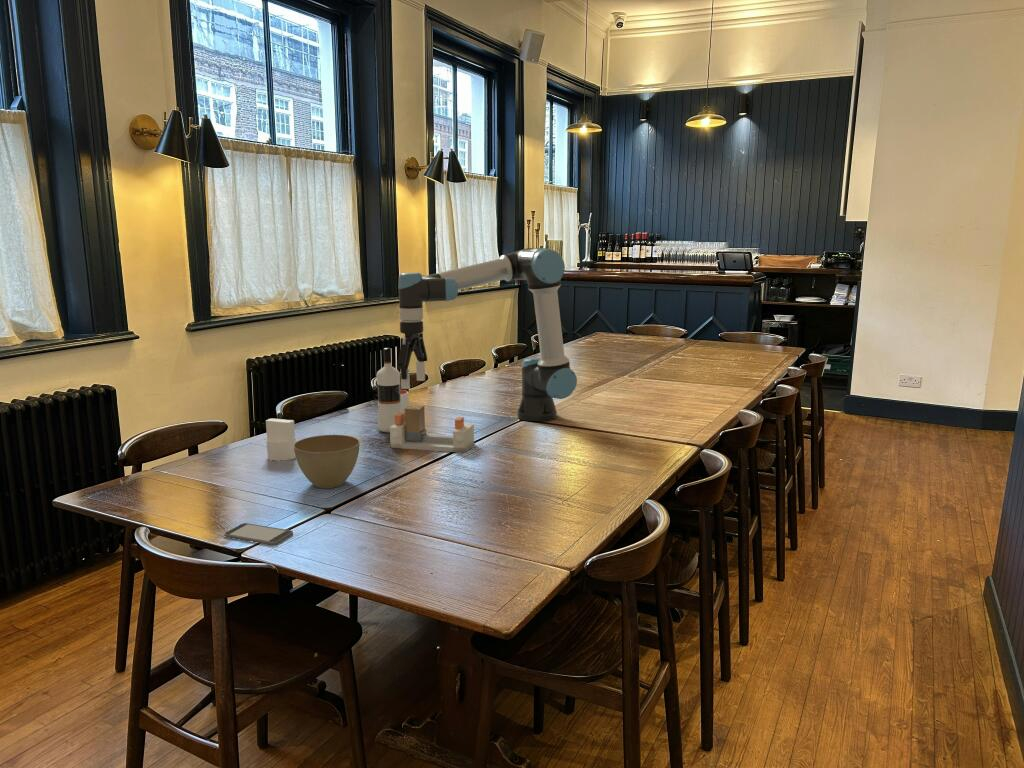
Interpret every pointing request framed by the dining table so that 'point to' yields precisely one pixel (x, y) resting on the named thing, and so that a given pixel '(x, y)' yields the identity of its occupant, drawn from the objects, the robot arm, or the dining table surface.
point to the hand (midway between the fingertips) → (413, 384)
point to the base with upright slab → (280, 439)
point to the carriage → (414, 423)
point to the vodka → (388, 393)
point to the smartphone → (259, 534)
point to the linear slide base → (436, 439)
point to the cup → (404, 400)
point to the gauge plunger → (399, 418)
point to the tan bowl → (327, 458)
